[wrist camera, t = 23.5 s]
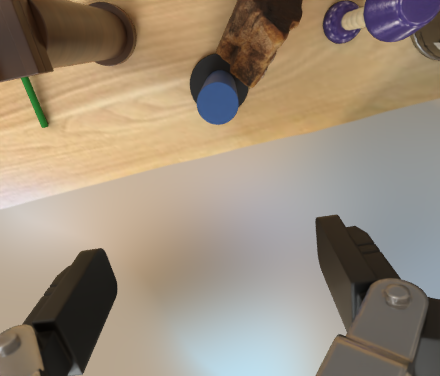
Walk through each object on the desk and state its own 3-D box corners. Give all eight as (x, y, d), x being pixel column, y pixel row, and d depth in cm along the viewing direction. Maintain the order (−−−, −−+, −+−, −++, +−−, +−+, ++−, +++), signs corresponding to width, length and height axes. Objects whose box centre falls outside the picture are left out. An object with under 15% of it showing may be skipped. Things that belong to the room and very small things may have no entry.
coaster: (214, 39, 38) (214, 39, 37) (260, 80, 39) (260, 81, 39) (178, 89, 40) (178, 89, 39) (223, 125, 42) (223, 126, 41)
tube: (208, 104, 40) (202, 73, 39) (237, 98, 40) (232, 67, 38) (201, 127, 29) (192, 86, 28) (241, 120, 29) (235, 78, 27)
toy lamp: (311, 26, 37) (370, 16, 22) (338, -15, 35) (423, -58, 20) (344, 51, 38) (423, 57, 22) (372, 12, 36) (478, -9, 21)
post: (71, 9, 37) (-97, -24, 18) (126, -3, 36) (15, -51, 17) (91, 69, 39) (-37, 97, 20) (143, 59, 38) (61, 77, 20)
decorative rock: (251, 82, 39) (259, 96, 30) (207, 53, 38) (201, 58, 28) (313, -18, 35) (347, -40, 25) (267, -54, 34) (283, -92, 24)
